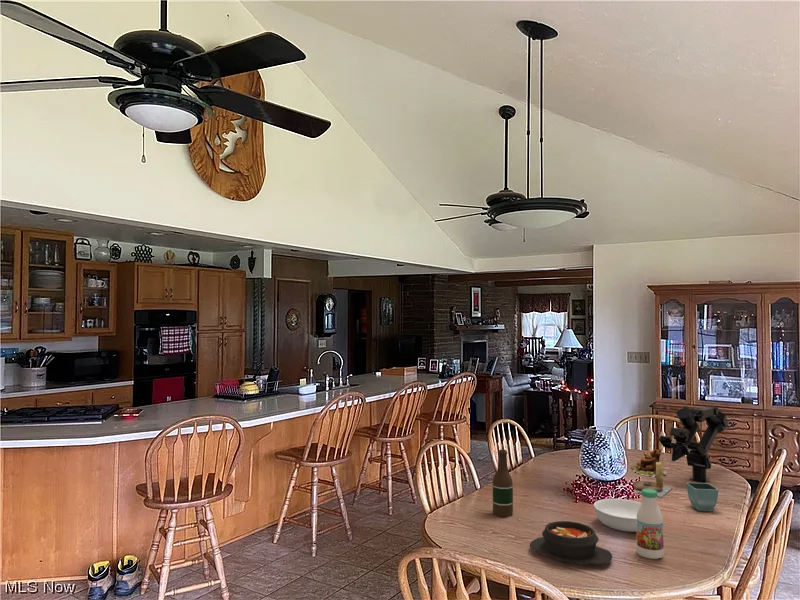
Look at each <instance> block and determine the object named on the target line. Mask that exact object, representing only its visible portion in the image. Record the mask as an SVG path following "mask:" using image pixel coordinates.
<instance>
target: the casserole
mask: <svg viewBox="0 0 800 600" xmlns="http://www.w3.org/2000/svg"><path fill="white" fill-rule="evenodd" d="M541 536H542V537H541ZM541 536H540V537H537V538H535V539H533V540H532V541H531V542H530V543H529V548H530V549H531V550H532V551H534V552H537V553H539V554H543V555H545V556H546V557H548V558H550V559H553V560H556V561H559V562H563V563H568V564H591V565H604V564H606V563H608V562H610V561H611V560H613V553H612V552H611V551H610V550H608V549H606V548H602V547H599V546H597V543H599V537H598V536H597V534H596V531H595V529H594V528H593V527H591V526H589V525H587V524H583V523H580V522H575V521H570V520H569V521H568V520H567V521H566V520H561V521H553V522H549V523H547V524H546V525H545V526H544V529H543V530H542V532H541Z"/></svg>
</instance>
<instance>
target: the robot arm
mask: <svg viewBox="0 0 800 600" xmlns="http://www.w3.org/2000/svg"><path fill="white" fill-rule="evenodd" d="M676 416H677V419H678V420H679V422H680V424H681V425H682V428H676V427H670V430H669V435H671V436H672V438H673V439H671V437H670V436H666V435H660V436H659V438H658V441H659V442H660V444H661V445H662V447H663V448H664V449H670V450H672V451H671V461H672V462H676V461H678V460H680V459H681V458H684V457H686V463H687V466H690V467H691V470H692V471H691V472H692V473H691V475H692V476H691V478H690V479H689V480H690V481H692V482H693V481H694V482H697V483H707V482H708V481H710V480H709V479H710V478H707V470H711V469H712V461H711V459H710V456H709V453H708V452H709V451H710V449H711V446H712V445H713V443H714V441H715V440H716V437H717V436H718V434H719V433H722V432H724V431H725V430H726V428H727V427H728V425H729V420H728V418H727V416H726V414H725V413H723V412H722V411H721V410H720V409H719V407H718V406H712V405H711V406H710V405H707V406H705V407H702V408H690V407H689V406H683V408H680V409H679V410H677V411H676ZM704 422H706V425H707V426H706V429H705V430H704V432H703V434H702V436H701V438H700V440H699V442H696V441H695V440H696V439H695V436H696V434H697V432H700V431H701V429H700V426H699V423H700V424H701V423H704Z"/></svg>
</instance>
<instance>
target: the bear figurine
mask: <svg viewBox="0 0 800 600" xmlns="http://www.w3.org/2000/svg"><path fill="white" fill-rule="evenodd" d="M661 452H662V449H657V448H655V449H651V450H650V451H649V452H648V453H646V452H643V455H644V457H641V458H640V459H639V460H638V461H637V462H636V465H632V466H631V467H630V470H631V471H632V470H633V471H632V472H634V473H635V472H636V473H637V474H638V473H639V474H638V475H641V476H645V477H648V476H650V477H651V478H653V477H655V478H656V462H660V457H661ZM636 473H635V474H636ZM667 474H668V472H667V471H666V469H665V468H663V476H664V475H666V476H668V475H667Z"/></svg>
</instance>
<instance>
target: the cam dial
mask: <svg viewBox="0 0 800 600" xmlns="http://www.w3.org/2000/svg"><path fill="white" fill-rule="evenodd" d="M663 469H664V463H663V462H661V461H659V462H656V476H655V482H654V481H650V480H649V481H648V480H647V481H646V480H637V481H636V480H634V481H635V482H633V481H632V482H633V486H634V489H637V490H640V491H642V490H643V489H653V490H656V491H657V492H660V491H662V488H663V486H664V474H663Z"/></svg>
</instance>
